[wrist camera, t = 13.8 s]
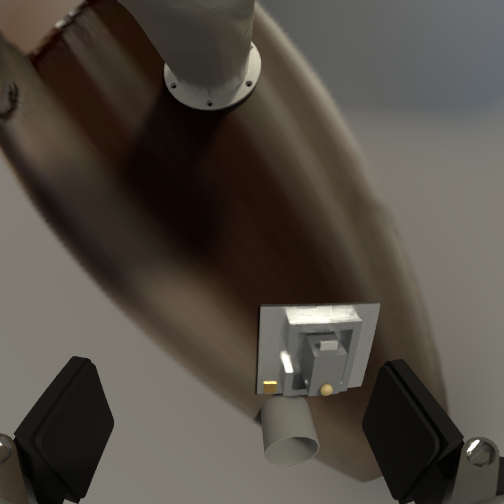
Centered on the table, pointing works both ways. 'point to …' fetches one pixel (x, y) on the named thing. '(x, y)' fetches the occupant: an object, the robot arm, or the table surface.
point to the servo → (323, 364)
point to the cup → (288, 430)
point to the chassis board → (293, 339)
